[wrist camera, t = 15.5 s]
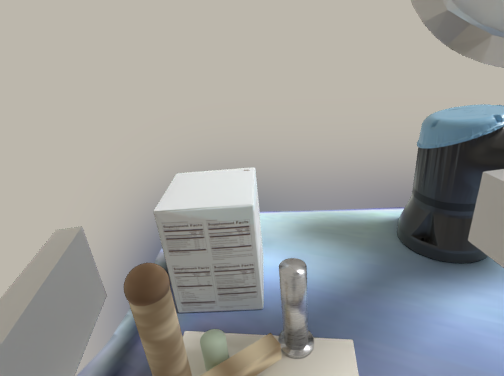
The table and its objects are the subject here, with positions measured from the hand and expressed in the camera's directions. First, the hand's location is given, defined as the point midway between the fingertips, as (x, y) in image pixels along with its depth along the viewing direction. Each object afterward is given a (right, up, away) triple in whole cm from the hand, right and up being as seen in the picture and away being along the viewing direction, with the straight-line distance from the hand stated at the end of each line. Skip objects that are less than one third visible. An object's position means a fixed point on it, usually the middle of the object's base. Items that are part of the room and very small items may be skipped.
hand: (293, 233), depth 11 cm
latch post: (-6, -20, +29) cm, 35 cm away
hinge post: (+4, -18, +30) cm, 35 cm away
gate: (-4, -21, +25) cm, 33 cm away
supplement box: (-6, -14, +43) cm, 46 cm away
